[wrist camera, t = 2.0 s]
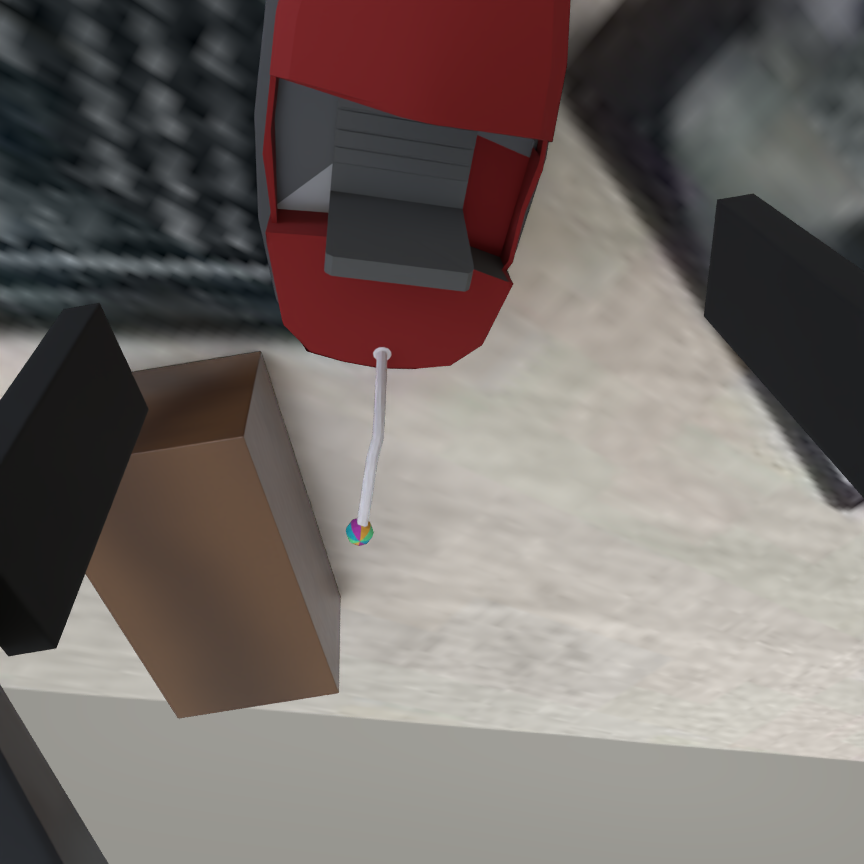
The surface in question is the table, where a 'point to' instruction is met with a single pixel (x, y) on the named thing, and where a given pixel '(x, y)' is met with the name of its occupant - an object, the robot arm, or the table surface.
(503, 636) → the table surface
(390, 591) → the table surface
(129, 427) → the robot arm
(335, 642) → the walnut block
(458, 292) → the bumper car
